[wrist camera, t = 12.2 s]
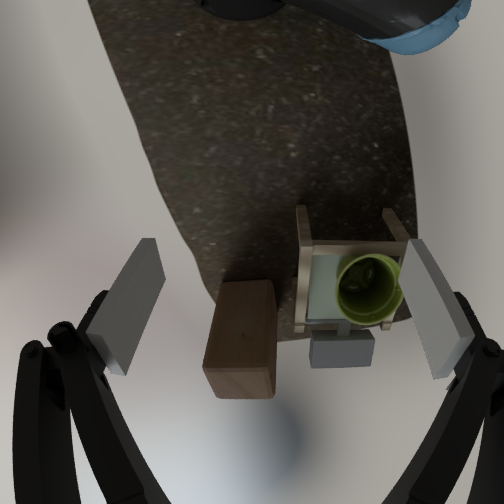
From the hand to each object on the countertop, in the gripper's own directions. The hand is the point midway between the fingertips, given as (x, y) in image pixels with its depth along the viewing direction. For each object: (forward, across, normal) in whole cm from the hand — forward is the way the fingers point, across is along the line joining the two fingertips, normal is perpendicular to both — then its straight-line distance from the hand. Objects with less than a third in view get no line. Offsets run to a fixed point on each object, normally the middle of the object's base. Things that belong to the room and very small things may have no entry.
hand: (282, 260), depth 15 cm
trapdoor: (+23, +10, -25) cm, 36 cm away
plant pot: (+23, +11, -19) cm, 32 cm away
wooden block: (+31, -6, -32) cm, 45 cm away
